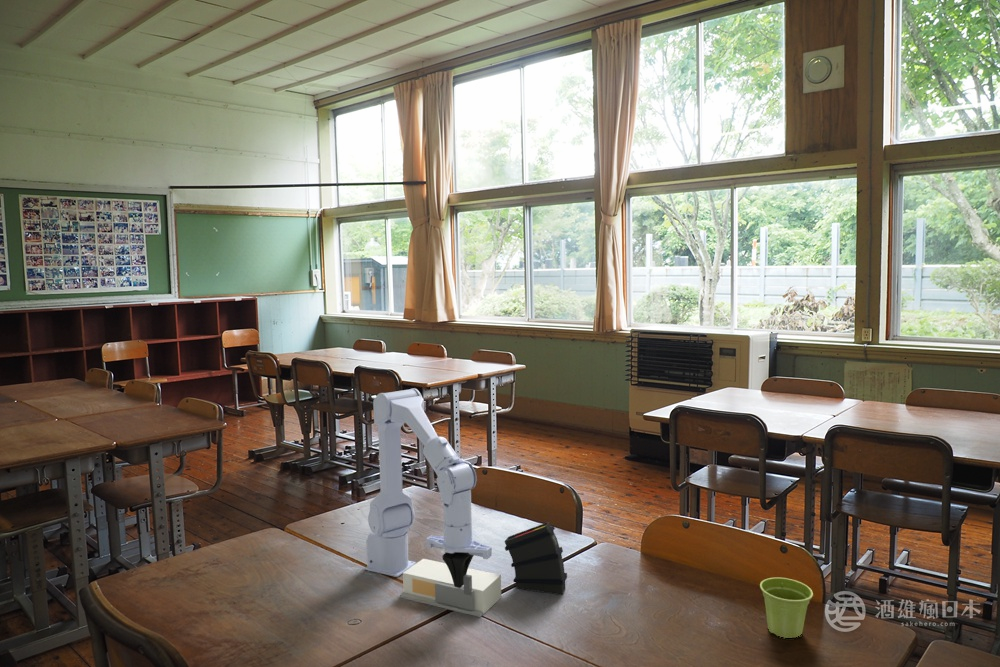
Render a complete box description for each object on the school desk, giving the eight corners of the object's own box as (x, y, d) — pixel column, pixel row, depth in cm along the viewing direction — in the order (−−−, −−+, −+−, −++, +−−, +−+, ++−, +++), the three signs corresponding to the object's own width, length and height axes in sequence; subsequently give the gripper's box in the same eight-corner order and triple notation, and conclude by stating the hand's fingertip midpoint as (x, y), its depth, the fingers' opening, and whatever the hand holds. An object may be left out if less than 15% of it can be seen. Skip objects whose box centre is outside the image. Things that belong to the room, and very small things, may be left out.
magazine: (576, 591, 147) (546, 526, 148) (524, 607, 151) (495, 545, 152) (580, 583, 150) (551, 520, 151) (529, 600, 155) (501, 539, 156)
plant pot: (806, 621, 136) (807, 579, 135) (816, 647, 127) (818, 602, 126) (756, 616, 138) (756, 575, 137) (763, 642, 129) (763, 597, 128)
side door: (434, 602, 145) (433, 569, 144) (437, 599, 146) (436, 567, 145) (471, 611, 140) (470, 577, 140) (474, 608, 142) (473, 575, 141)
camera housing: (399, 597, 149) (399, 575, 149) (423, 579, 157) (423, 558, 157) (480, 617, 140) (479, 593, 139) (501, 597, 148) (500, 575, 148)
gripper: (417, 523, 140) (419, 586, 142) (479, 534, 134) (480, 601, 135) (435, 511, 147) (437, 572, 148) (495, 522, 140) (497, 585, 141)
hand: (459, 585), depth 142 cm, fingers closed
